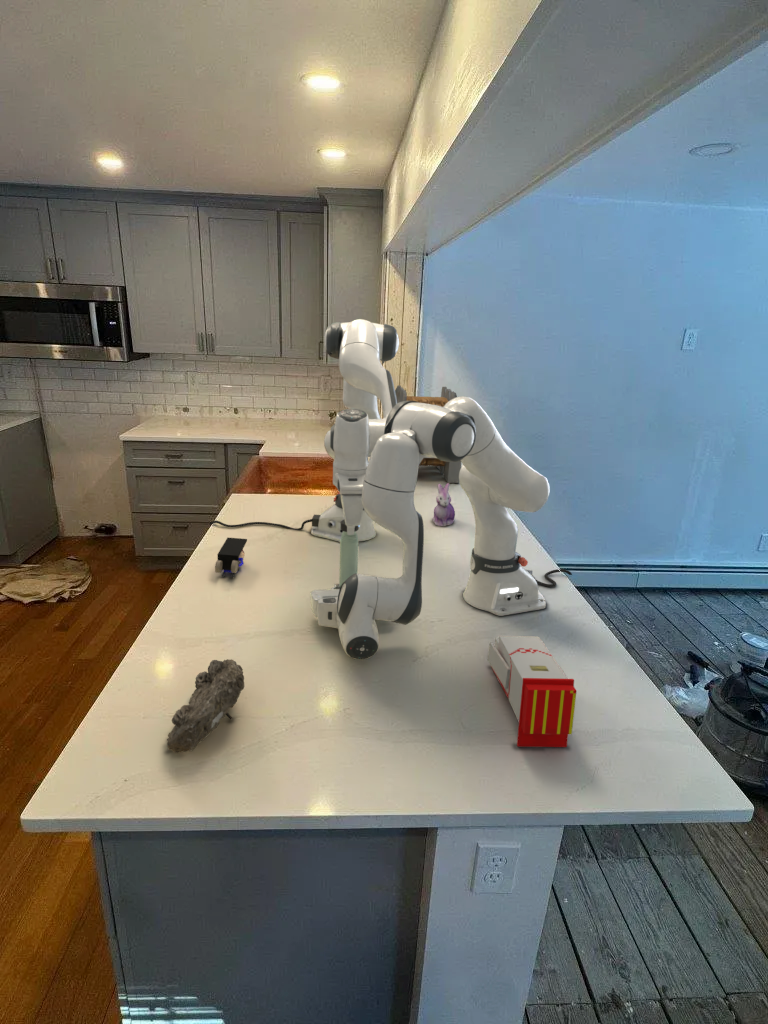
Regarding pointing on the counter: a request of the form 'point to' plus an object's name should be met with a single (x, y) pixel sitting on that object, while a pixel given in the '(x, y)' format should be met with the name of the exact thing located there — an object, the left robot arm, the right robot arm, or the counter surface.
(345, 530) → the cap
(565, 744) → the toy
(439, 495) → the figurine
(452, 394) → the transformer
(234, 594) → the counter surface
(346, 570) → the bottle
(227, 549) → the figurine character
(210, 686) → the fossil
